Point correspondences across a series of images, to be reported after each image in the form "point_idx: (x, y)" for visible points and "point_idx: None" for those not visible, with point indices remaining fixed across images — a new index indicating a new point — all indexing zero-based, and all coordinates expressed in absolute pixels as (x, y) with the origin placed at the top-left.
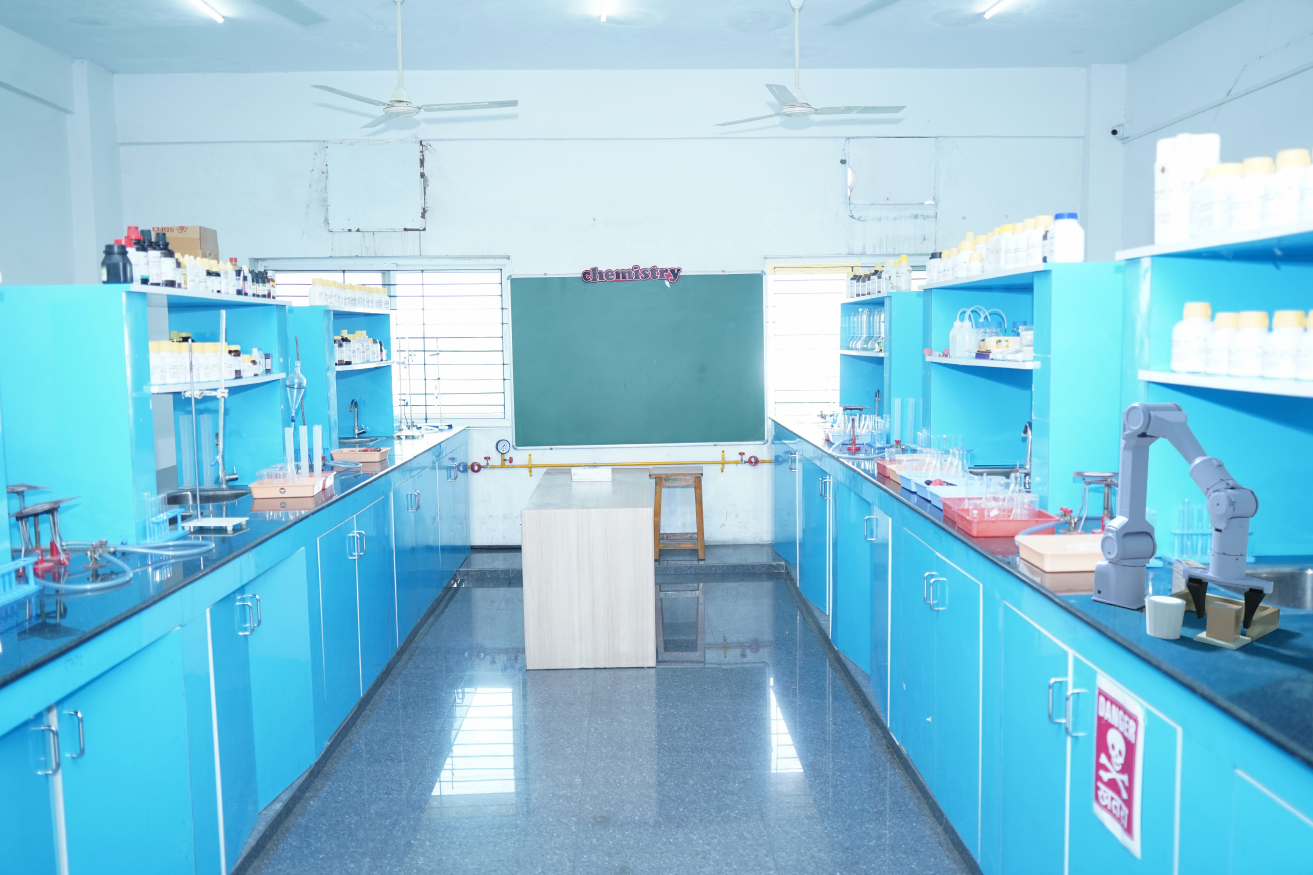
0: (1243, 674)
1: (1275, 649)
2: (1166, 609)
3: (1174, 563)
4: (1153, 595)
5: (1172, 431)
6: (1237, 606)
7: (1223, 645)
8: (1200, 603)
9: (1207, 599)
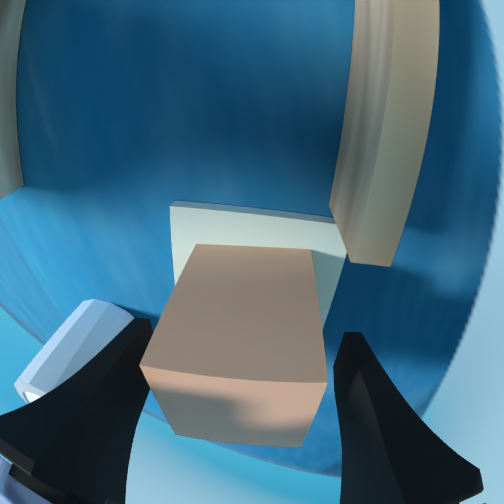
0: (338, 436)
1: (428, 265)
2: None
3: None
4: (24, 396)
5: None
6: (298, 400)
7: None
8: (134, 418)
9: None
